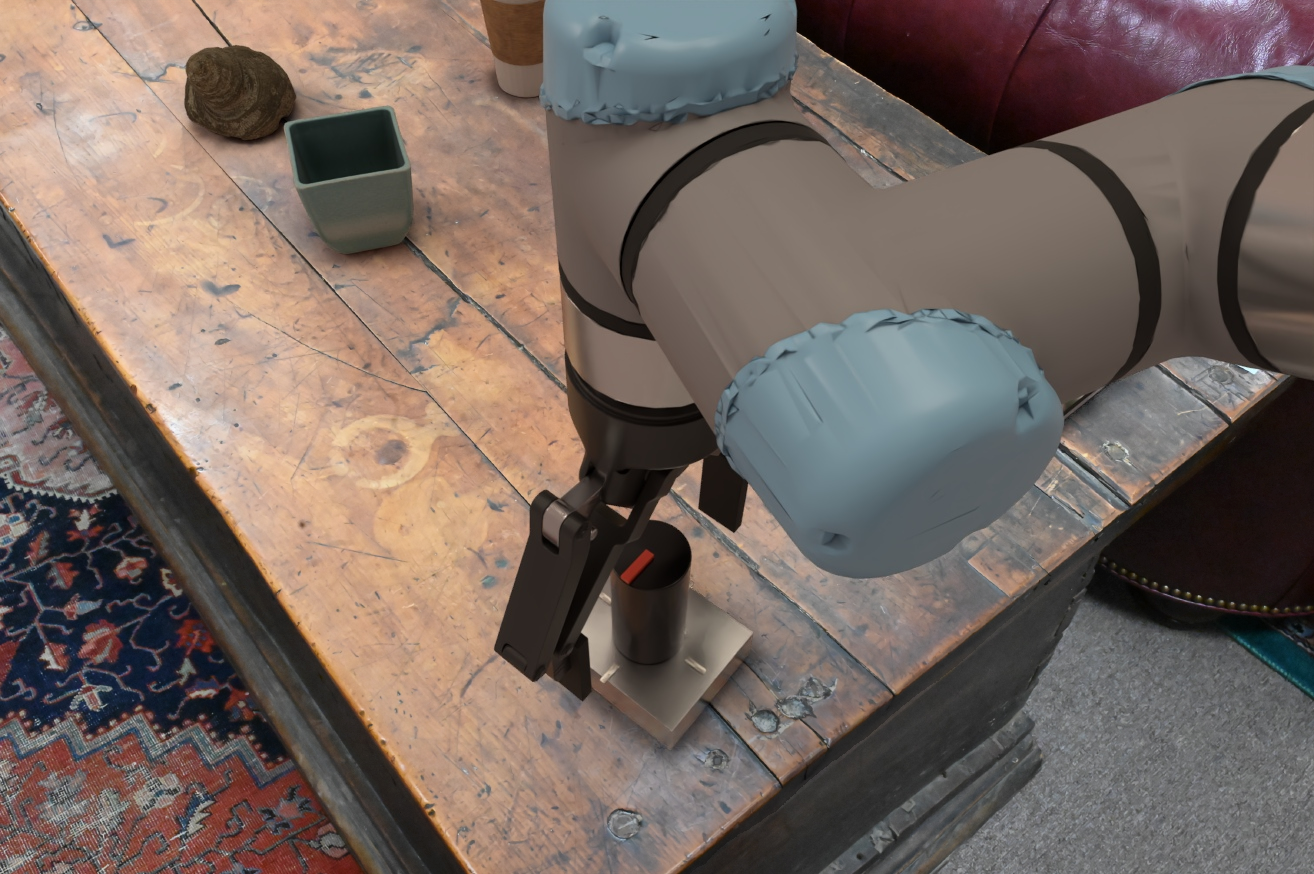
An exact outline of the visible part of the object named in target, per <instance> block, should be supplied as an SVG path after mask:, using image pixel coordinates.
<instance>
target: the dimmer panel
mask: <svg viewBox="0 0 1314 874" xmlns="http://www.w3.org/2000/svg"><path fill="white" fill-rule="evenodd" d="M694 585H695V582H694V581H692V580H691V579H690V582H689V593H688V604H687V614H686V625H685V636H684V640H683V642H682V645H681V646H680V648H679V649H678V651H677V652H676V653H675V654H674V655H673V656H671V657H670V658H668V659H667V660H665V661H662V662H659V663H654V664H642V663H638V662H635V661H633V660H631V659H629V658H627V657H626V656H624V655H623V654H622V653H621V652H620V651H619V650H618V648H617V647H616V645H615V643H614V640H613V636H612V618H611V588H610V576H609V578H608V580H607V582H606V584H605V586H604V588H603V590H602V592H601V594H600V596H599V598H598V600H597V602H596V604H595V606H594V608H593V610H592V612H591V614H590V616H589V618H588V619H587V621H586V623H585V625H584V627H583V629H582V631H581V633H582V634H584V635H585V636H586V637H588V642H589V656H590V671H591V685H592V690H594V691H595V692H596V693H598V694H599V695H600V696H601V697H602V698H604V699H605V700H607V701H608V702H609V703H610V704H612V705H613V706H614V707H615V708H617V709H618V710H619V711H620V712H621V713H623V714H624V715H625V716H627V717H628V719H630V720H631V721H633V722H634V723H635V724H637V726H639V727H640V728H642V730H644V731H645V732H646V733H648V734H649V735H650V736H651V737H653V738H654V739H655V740H657V741H658V742H659V743H661V744H662V745H663V746H664V747H666V748H667V749H668V750H669V751H671V750H672V749H673V748H674V747H675V746H676V745H677V743H678V742H679V741H680V740H681V738H682V737H683V736H684V735H685V733H686V732H687V731H688V730H689V728H690V727H691V726H692V725H693V724H694V722H695V721H696V720H697V719H698V717H699V716H700V715H701V714H702V713H703V712H704V710H705V709H706V708H707V706H708V705H709V704H710V703H711V702H712V700H713V699H714V698H715V696H716V695H717V694H718V693H719V692H720V691H721V689H722V688H723V687H724V685H726V683H728V681H729V680H730V679H731V677H732V676H733V674H734V673H735V672H736V671H737V670H738V668H739V667H740V666H741V665H742V664H743V663H744V661H745V660H746V659H747V657H748V656H749V655H750V653H751V647H752V643H753V638H754V634H755V632H754V631H752V630H751V629H750V628H748V627H747V626H746V625H744V624H743V623H741V621H738V619H736V618H735V617H733V616H731V615H730V614H729V613H727V612H726V611H725V610H723V609H722V608H720V606H718V605H716V603H713V602H712V601H711V600H709V599H708V598H706V597H705V596H703V595H702V594H701V593H699V592H698V591H696V590H695V589H694V588H693V586H694Z"/></svg>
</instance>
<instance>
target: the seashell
mask: <svg viewBox="0 0 1314 874" xmlns="http://www.w3.org/2000/svg"><path fill="white" fill-rule="evenodd" d="M185 74H186V82H185V85H184V99H183V100H184V101H183V104H184V110H185V112H186V115H187V118H188V119H189V121H191V122H192V123H194V124H195V125H198V126H200V127H203V128H205V129H207V130H208V131H210V132H212V133H215V134H217V135H219V136H224V137H227V138H229V137H235V138H239V139H241V140H243V141H252V140H257V139H259V138H264V137H267V136H269V135H272V134H273V133H274V132H275V131H277V130H278V129H279V127H280V121H281V120H282V118H286V117H287V118H288V117H289V116H290V115H291V113H292V111H293V107H294V104H295V102H296V99H297V94H296V91H295V89H294V86H293V83H292V81H291V79H290V77H289V75H288V73H287V72H286V71H285V69H284V68H283V67H282V66H281V65H280V64H278V63H277V62H276V61H275V60H274V59H273V58H272V57H271V56H270V55H268V54H266V53H264V52H262V51H258V50H254V49H253V48H250V47H249V46H246V45H238V44H234V45H233V44H232V45H230V46H229V45H228V46H224V47H220V46H214V47H211V46H210V47H204V48H202V49H200V50H198V51H197V52H194V53H193V54H191V55H190V57H188V59H187V61H186V63H185Z"/></svg>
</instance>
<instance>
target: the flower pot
mask: <svg viewBox="0 0 1314 874" xmlns="http://www.w3.org/2000/svg"><path fill="white" fill-rule="evenodd" d="M283 132H284V136H285V140H286V145H287V150H288V155H289V162H290V167H291V174H292V179H293V184H294V188H295V190H296V192H297V195H298V197H299V199H300V201H301V204H302V206H303V208H304V210H305V213H306V214H307V217H308V219H309V221H310V223H311V225H312V228H313V229H314V230H315V232H316V233H317V235H318V237H320V239H321V240H322V241H323V242H324V243H325V244H326V245H327V246H329V247H330V248H331V249H333V250H334V251H336V252H337V253H339V254H342V255H350V254H356V253H360V252H366V251H370V250H376V249H382V248H387V247H391V246H396V245H400V244H401V243H402V242H403V240H404V239H405V238H406V236H407V234H408V233H409V231H410V229H411V226H412V222H413V218H414V192H413V178H412V177H413V175H412V163H411V160H410V158H409V155H408V152H407V149H406V145H405V143H404V140H403V136H402V133H401V130H400V125H399V121H398V118H397V115H396V111H395V109H394V108H393V106H391V105H379V106H373V107H368V108H362V109H357V110H350V111H345V112H338V113H331V114H326V115H318V116H313V117H307V118H300V119H295V120H291V121H287V122H285V123H284V125H283Z"/></svg>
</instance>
